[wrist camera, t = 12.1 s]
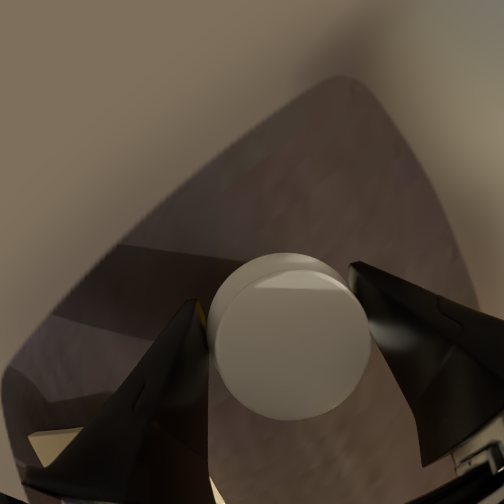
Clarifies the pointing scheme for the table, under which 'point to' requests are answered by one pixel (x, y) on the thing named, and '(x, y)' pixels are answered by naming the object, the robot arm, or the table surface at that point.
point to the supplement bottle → (288, 336)
